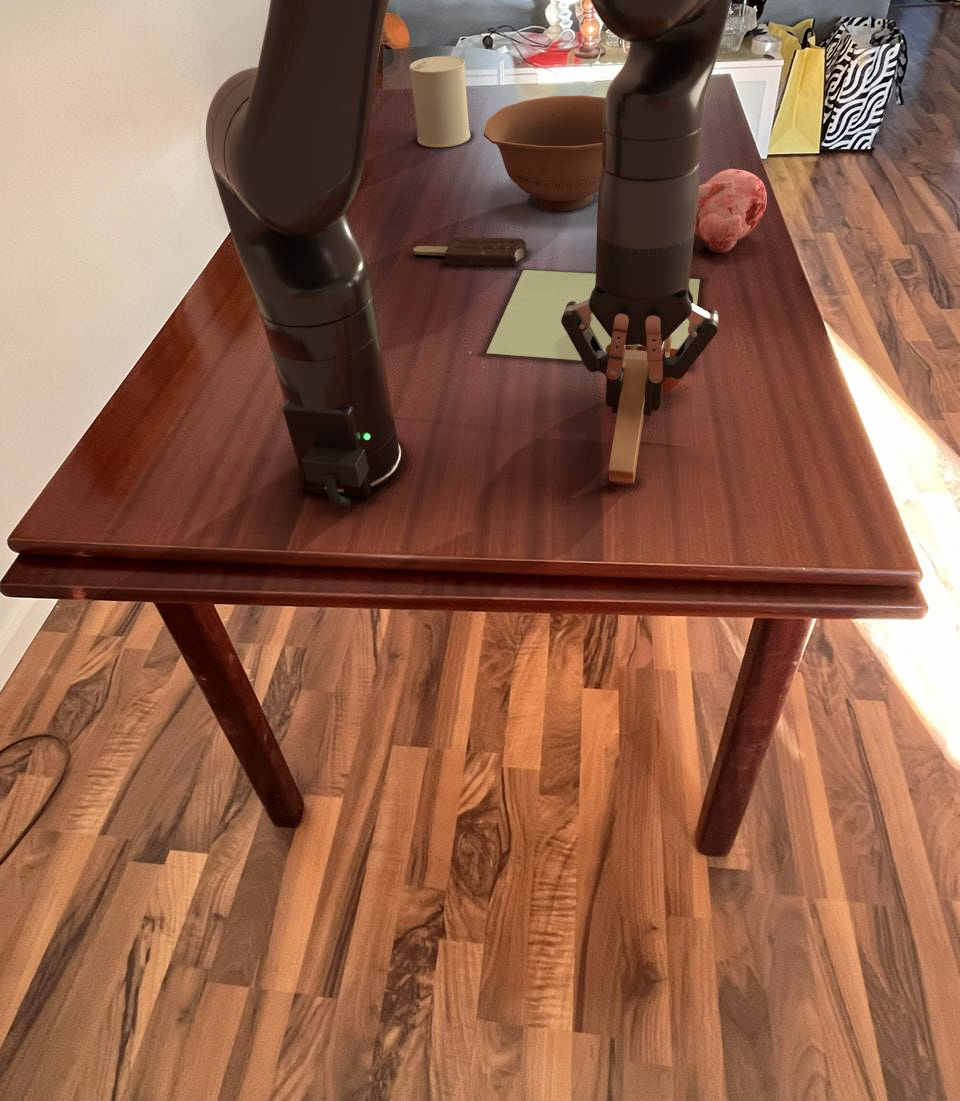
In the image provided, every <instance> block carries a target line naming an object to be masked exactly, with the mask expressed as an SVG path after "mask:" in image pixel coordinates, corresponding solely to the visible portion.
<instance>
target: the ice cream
mask: <svg viewBox="0 0 960 1101" xmlns="http://www.w3.org/2000/svg"><path fill="white" fill-rule="evenodd" d="M767 201H768V195H767V189H766V187H765V183H764V182H763V181H762V180H761V179H760V178H759V177H758V176H757V175H755V174H754V173H752V172H749V171H747V170H743V169H737V168H736V169H734V168H728V169H724V170H721V171H719V172H718V173H716V174H714V175H713V176H711V178H709V180H707V181H706V182H705V183H704V184H700V185H699V197H698V217H697V220H696V225H695V234H694V240H697V241H704V242H705V243H706V247H707V248H708V250H710V251H711V252H714V253H717V254H724V253H728V252H729V251H731V250H732V249H733V248H734V247H735V246H736V244H737V242H738V240H741V239H743V238H744V237H746V236H747V235H749V233H750V232H751V231H753V230H754V228H755V227H756V226H757V225H758V223H759V222H760V220H761V219H762V217H763V216H764V212H765V210H766V208H767V203H768V202H767Z"/></svg>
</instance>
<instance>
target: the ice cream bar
mask: <svg viewBox="0 0 960 1101" xmlns="http://www.w3.org/2000/svg"><path fill="white" fill-rule="evenodd" d="M413 254H414V255H416V256H417V255H418V256H442V257H443V259H444V264H445V266H458V267H459V266H460V267H462V266H463V267H494V268H495V267H496V268H515V267H516V266H517V261H519V260H521V259H522V260H524V259H526V256H527V242H526V241H525V240H524V239H523V238H519V237H517V238H515V237H514V238H513V237H478V236H477V237H476V236H474V237H472V236H454V237H453V238H452V239H451V241H450V244H449V246H442V245H441V246H439V245H436V246H435V245H418V246H415V247H414V248H413Z"/></svg>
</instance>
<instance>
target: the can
mask: <svg viewBox="0 0 960 1101" xmlns="http://www.w3.org/2000/svg"><path fill="white" fill-rule="evenodd" d="M409 71H410V78H411V86H412V94H413V95H412V96H413V103H414V110H415V111H414V112H415V121H416V130H417V131H416V132H417V139H416V140H417V142H418V144H420V146H423V147H426V148H431V149H441V148H442V149H443V148H451V147H457V146H459V145H462V144H464V143H466V142H467V141H469V140H470V139H471V132H470V124H469V113H468V112H469V111H468V110H469V109H468V99H467V98H468V96H467V83H466V82H467V81H466V61H465V59H464V58H462V57H459V56H454V55H436V56H429V57H424V58H420V59H417V60H415V61H413V62H412V63H410V65H409Z"/></svg>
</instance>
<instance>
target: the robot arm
mask: <svg viewBox="0 0 960 1101" xmlns="http://www.w3.org/2000/svg"><path fill="white" fill-rule="evenodd" d="M590 2H591V4H592V6H593V8H594V10H595V13H596V14H597V16H598V17H599V19H600V20H601V22H602V23H603V25H605V27H606V28H607V29H608V30H609V31H610V33H612V34H613V35H614V36H616V37H617V38H619V39H621V40H623V41H626V42H629V47H628V53H627V57H626V60H625V63H624V64H623V66H622V67H621V69H620V71H619V72H618V73H617V74H616V76H615V77H613V78H614V79H612V81H611V82H610V83H609V84H610V85H609V86H608V88H607V91H606V94H605V97H604V98H605V105H604V117H603V146H602V171H601V178H600V184H599V191H598V192H597V209H596V245H595V247H596V249H595V250H596V251H595V274H596V282H595V288H594V289H593V291H592V293H591V296H590V299H588V300H585V301H583V302H581V303H577V302H575V301H571V302H569V303H568V304H567V306H566V308H565V311H564V314H563V316H562V319H561V323H562V325H563V327H564V329H565V330H566V332H567V334H568V336H569V338H570V339H571V341H572V343H573V345H574V347H575V348H576V350H577V352H578V354H579V355H580V357H581V359H582V361H581V362H582V363H583V364H584V366H585V368H586V370H587V371H588V372H591V373H596V372H599V373H602V374H603V375H604V377H605V378H606V382H605V404H606V406H607V407H609V408H611V407H612V411H611V412H612V413H613V414H617V412H618V405H619V399H620V393H621V389H622V383H623V376H624V370H625V368H623V367H622V366H623V360H624V354H625V349H626V345H633V344H639V345H642V346H645V347H647V361H648V369H649V370H648V375H647V379H646V386H645V403H644V417H645V416H646V417H652V414H653V413H652V412H653V411H656V412H657V411H658V410H659V408H660V407H661V402H662V397H663V396H662V395H663V394H662V386H663V381H664V380H665V379H666V378H669V377H673V378H675V379H680V378H682V377H683V376H684V375H685V376H686V374H687V373H688V371H689V370H690V368H691V367H692V366H693V364H695V362H696V361H697V360H698V358H699V356H700V355H701V354H702V353H703V352H704V350H705V349H706V348H707V346H708V345H709V344H710V343H711V341H712V340H713V339H714V337H715V336H716V335H717V333H718V328H719V322H720V313H719V312H718V310H717V309H714V308H713V309H708V310H705V309H704V308H701V307H699V306H698V305H697V306H696V305H694V304H693V297H692V294H691V293H690V290H689V279H691V269H692V262H693V252H694V251H693V250H694V243H695V238H694V234H695V225H696V220H697V217H698V197H699V186H700V185H699V184H700V181H699V167H700V164H699V163H700V157H701V147H702V138H703V130H704V129H703V128H704V120H705V119H704V118H705V101H706V96H707V92H708V91H707V90H708V87H709V83H710V80H711V77H712V74H713V71H714V68H715V66H716V62H717V58H718V54H719V50H720V47H721V43H722V40H723V36H724V32H725V28H726V24H727V20H728V17H729V13H730V9H731V4H732V0H590ZM389 4H390V0H269V8H268V15H267V19H266V20H267V21H266V24H265V30H264V35H263V41H262V45H261V48H260V54H259V59H258V65H257V66H255V67H250V68H246V69H243V70H241V71H238V72H236V73H235V74H233V75H232V76H230V77H229V78H228V79H227V80H225V81H224V82H223V83H222V84H221V86H220V87H219V88H218V89H217V90H216V93H215V94H214V96H213V98H212V100H211V102H210V105H209V107H208V111H207V115H206V121H205V142H206V150H207V155H208V159H209V163H210V167H211V171H212V174H213V179H214V181H215V185H216V188H217V191H218V194H219V198H220V201H221V204H222V207H223V211H224V213H225V214H224V215H225V218H226V220H227V224H228V227H229V230H230V234H231V237H232V240H233V243H234V247H235V249H236V253H237V256H238V259H239V261H240V264H241V266H242V267H241V268H242V269H243V272H244V273H245V276H246V278H247V280H248V283H249V284H250V287H251V289H252V292H253V295H254V298H255V301H256V305H257V309H258V312H259V314H260V319H261V323H262V325H263V329H264V332H265V336H266V340H267V344H268V347H269V350H270V351H269V352H270V355H271V358H272V361H273V365H274V369H275V373H276V376H277V380H278V383H279V386H280V390H281V394H282V397H283V400H284V404H283V406H282V414H283V416H284V420H285V423H286V427H287V431H288V434H289V437H290V441H291V444H292V448H293V451H294V455H295V459H296V462H297V465H298V469H299V472H300V475H301V480H302V483H303V487H304V489H305V492H309V493H315V494H324V495H327V497H328V500H329V501H330V503H331V504H332V505H334V506H336V507H340V508H343V509H346V508H349V507H350V506H351V504H352V502H351V499H350V498H358V499H367V498H369V496H370V494H371V493H372V492H373V491H374V490H377V489H378V488H380V487H382V486H384V485H385V484H387V483H389V482H390V481H391V480H392V479H393V478H394V477H395V476H396V475H397V473H398V472H399V471H400V468H401V465H402V461H403V455H402V450H401V446H400V444H399V440H398V433H397V428H396V422H395V416H394V410H393V405H392V398H391V394H390V393H391V392H390V387H389V382H388V375H387V370H386V364H385V357H384V353H383V352H384V351H383V346H382V341H381V334H380V330H379V329H380V328H379V322H378V316H377V310H376V305H375V298H374V294H373V293H374V292H373V288H372V282H371V281H372V280H371V274H370V270H369V265H368V263H367V260H366V259H367V258H366V257H365V255H364V252H363V250H362V249H361V247H360V244H359V243H358V241H357V239H356V236H355V234H354V232H353V229H352V226H351V224H350V221H349V218H348V215H347V211H348V209H349V207H350V206H351V204H352V203H353V201H354V199H355V198H356V195H357V192H358V189H359V187H360V184H361V180H362V176H363V173H364V168H365V162H366V154H367V147H368V140H369V134H370V133H369V132H370V125H371V122H370V121H371V115H372V108H373V100H374V93H375V87H376V78H377V72H378V71H377V70H378V63H379V56H380V50H381V44H382V39H383V33H384V27H385V23H386V22H385V21H386V17H387V12H388V8H389ZM592 313H593V314H594V316H595V317H596V319H597V320H598V321H599V323H600V324H601V325H602V327H603V328H604V330H605V331H606V332H607V334H608V335H609V336H610V337H611V344H610V350H609V353H606V352H604V350H603V348H602V347H601V345H600V343H599V341H598V339H597V337H596V335H595V333H594V332H593V330H592V328H591V326H590V323H591V320H592V317H591V314H592ZM686 319H688V320H689V326H688V333H689V335H688V337H687V338H686V339H685V341H684V342H683V343H682V345H681V346H680V347H679V349H678V350H677V351H676V353H675V354H674V356H671V357H666V355H665V343H666V339H667V338H668V337H669V336H670V335H671V334H672V333H673V332H674V331H675V330H676V329H677V328H678V327H679V326H680V325H681V324H682V323H683V322H684V321H685V320H686ZM685 373H686V374H685ZM685 376H684V377H685ZM349 497H350V498H349Z"/></svg>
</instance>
